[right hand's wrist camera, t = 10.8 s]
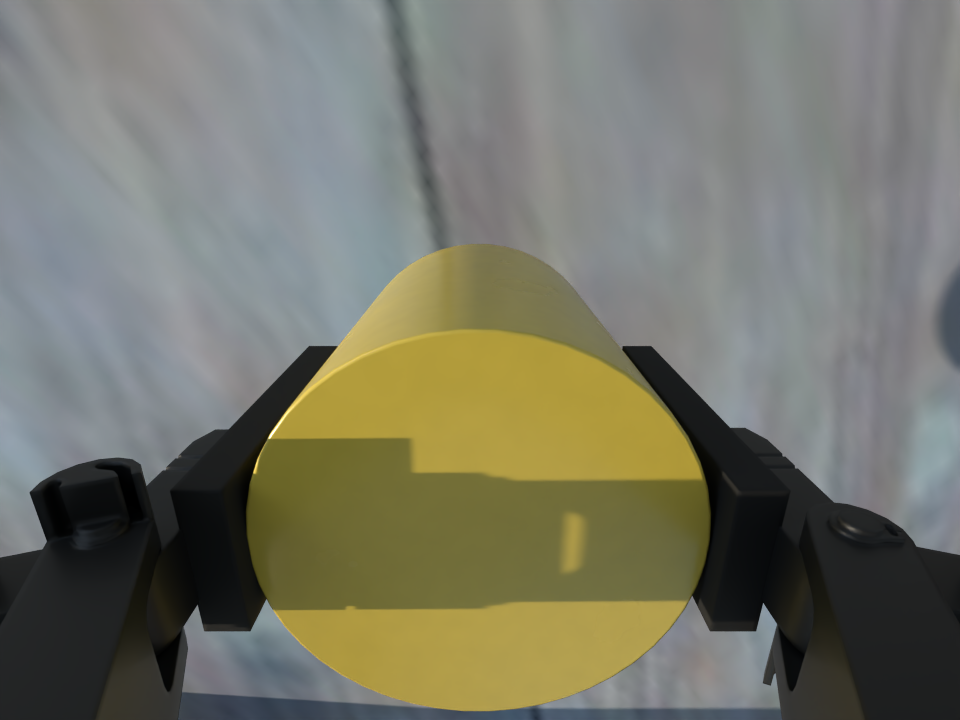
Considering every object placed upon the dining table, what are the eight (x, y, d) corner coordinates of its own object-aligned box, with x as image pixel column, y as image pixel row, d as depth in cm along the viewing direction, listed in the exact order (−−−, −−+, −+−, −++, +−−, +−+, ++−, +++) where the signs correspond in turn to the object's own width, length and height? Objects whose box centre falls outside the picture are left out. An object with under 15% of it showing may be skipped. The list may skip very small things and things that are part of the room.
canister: (544, 489, 18) (597, 750, 10) (336, 426, 17) (209, 655, 9) (636, 292, 16) (804, 424, 8) (398, 207, 15) (300, 253, 7)
